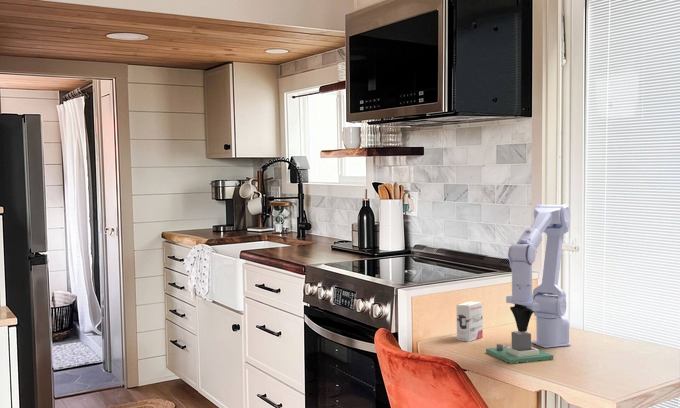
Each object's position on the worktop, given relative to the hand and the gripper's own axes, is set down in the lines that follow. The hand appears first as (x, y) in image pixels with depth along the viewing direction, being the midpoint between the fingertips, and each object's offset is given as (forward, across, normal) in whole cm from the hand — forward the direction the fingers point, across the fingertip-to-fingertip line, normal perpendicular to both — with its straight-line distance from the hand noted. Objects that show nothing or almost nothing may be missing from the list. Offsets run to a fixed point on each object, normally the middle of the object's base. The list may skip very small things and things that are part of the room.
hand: (522, 331), depth 200 cm
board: (+8, -2, 0) cm, 8 cm away
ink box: (+8, -27, -3) cm, 28 cm away
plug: (+6, 0, 0) cm, 6 cm away
